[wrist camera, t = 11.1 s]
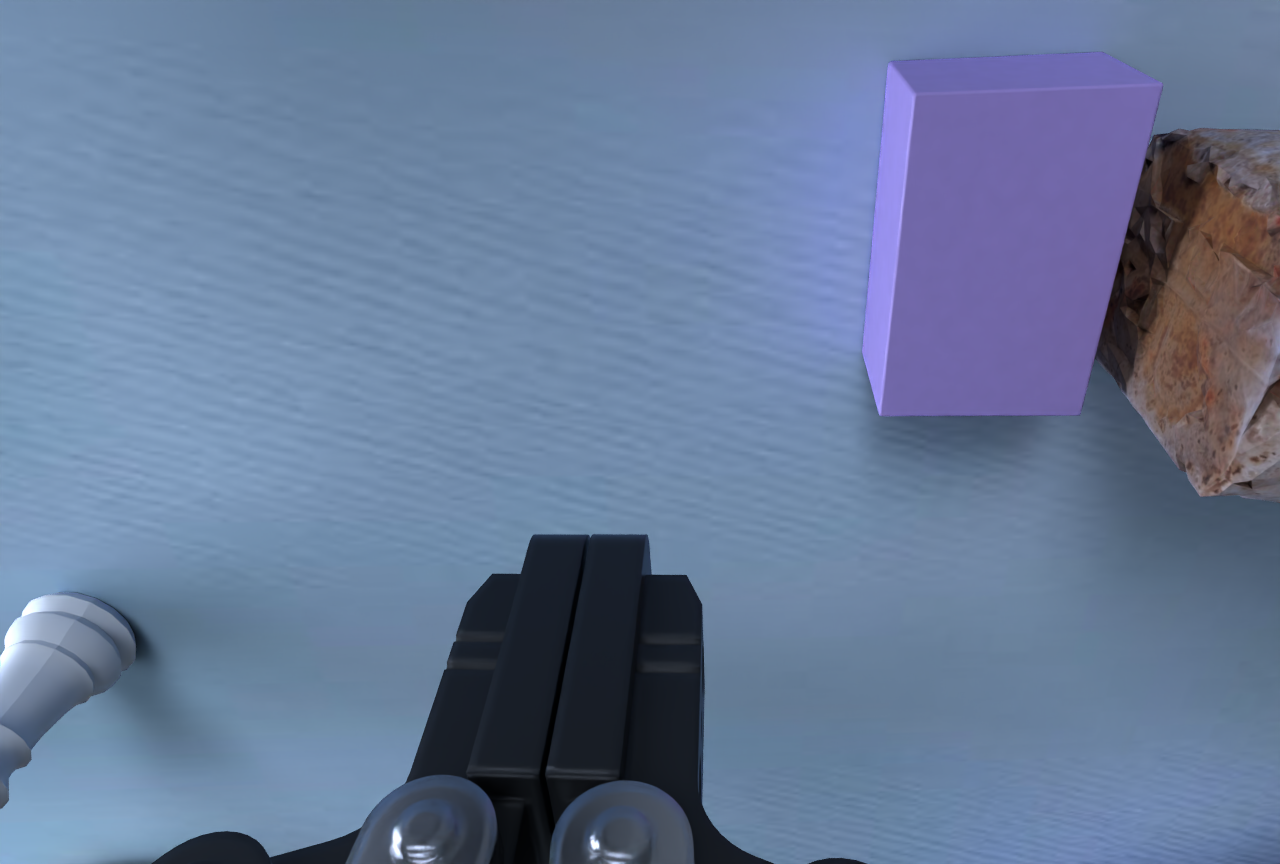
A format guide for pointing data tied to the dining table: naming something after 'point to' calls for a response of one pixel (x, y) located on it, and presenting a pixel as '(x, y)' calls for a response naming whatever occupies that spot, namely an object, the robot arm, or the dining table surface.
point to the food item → (1204, 307)
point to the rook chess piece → (55, 669)
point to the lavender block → (1000, 229)
